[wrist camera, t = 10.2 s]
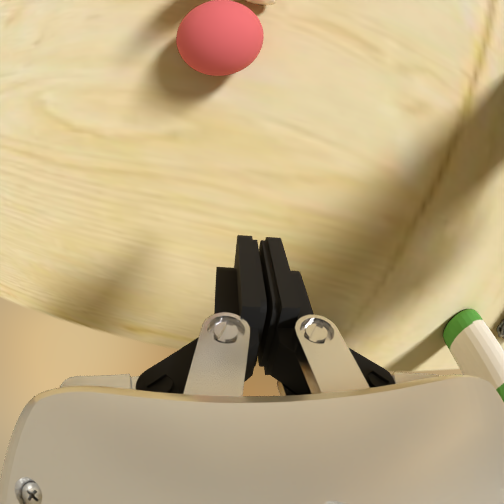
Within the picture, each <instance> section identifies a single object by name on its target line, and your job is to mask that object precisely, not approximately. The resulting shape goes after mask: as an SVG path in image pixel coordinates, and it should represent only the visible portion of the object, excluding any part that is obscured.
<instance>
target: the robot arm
mask: <svg viewBox="0 0 504 504" xmlns="http://www.w3.org/2000/svg"><path fill="white" fill-rule="evenodd" d="M257 356H258V361H259V366H264V370H265V375H271V376H272V377H274V378H275V379H277V380H278V381H277V386H278V390H279V393H280V396H247V397H246V396H242V395H243V387H244V382H245V381H246V380H247V379H248V378H250V377H251V376H252V374H253V369H254V366H255V365H256V361H257ZM0 504H504V402H503V400H502V398H501V397H500V395H499V394H498V392H497V391H496V389H495V388H494V387H493V385H492V384H491V383H489V382H488V381H487V380H484V379H482V378H479V377H476V376H470V375H445V376H444V375H443V376H439V375H434V374H417V373H402V372H394V373H393V374H392V375H391V374H390V373H389V372H388V371H387V370H385V369H384V368H382V367H380V366H379V365H377V364H375V363H374V362H372V361H370V360H368V359H367V358H365V357H363V356H362V355H360V354H358V353H357V352H355V351H353V350H352V349H350V348H348V346H347V344H346V343H345V341H344V339H343V337H342V335H341V334H340V332H339V330H338V328H337V327H336V325H335V324H334V323H333V322H332V321H330V320H329V319H327V318H325V317H323V316H319V315H314V314H313V311H312V308H311V305H310V302H309V299H308V295H307V292H306V289H305V286H304V283H303V280H302V277H301V274H300V272H299V271H290V268H289V265H288V261H287V258H286V254H285V251H284V247H283V244H282V241H281V238H272V237H266V240H265V241H263V240H261V242H260V247H259V249H258V243H257V240H252V236H242V235H238V236H237V245H236V255H235V265H234V268H226V267H217V271H216V290H215V313H214V315H211V316H209V317H208V318H207V319H206V320H205V321H204V323H203V325H202V328H201V332H200V335H199V337H198V338H197V339H195V340H194V341H192V342H191V343H189V344H188V345H186V346H184V347H183V348H181V349H180V350H178V351H177V352H175V353H173V354H172V355H170V356H169V357H167V358H166V359H164V360H162V361H161V362H159V363H157V364H156V365H154V366H153V367H151V368H149V369H148V370H146V371H145V372H144V373H142V374H141V375H140V376H138V377H131V376H130V374H122V375H102V376H75V377H70V378H68V379H67V380H65V381H64V382H63V383H62V384H61V386H60V388H56V389H51V390H48V391H45V392H42V393H40V394H38V395H36V396H34V397H33V398H32V399H31V400H30V401H29V402H28V404H27V405H26V406H25V407H24V409H23V411H22V413H21V415H20V416H19V419H18V421H17V423H16V425H15V428H14V430H13V433H12V436H11V439H10V442H9V446H8V449H7V453H6V456H5V460H4V464H3V469H2V474H1V480H0Z"/></svg>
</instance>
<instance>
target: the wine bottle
mask: <svg viewBox="0 0 504 504" xmlns="http://www.w3.org/2000/svg"><path fill="white" fill-rule="evenodd" d="M443 338H444V341H445V343H446V345H447V346H448V348H449V350H450V352H451V354H452V355H453V357H454V359H455V361H456V362H457V364H458V366H459V368H460V370H461V371H462V373H463V375H470V376H476V377H479V378H482V379H484V380H487V381H488V382H489V383H491V384H492V385H493V387H494V388H495V389H496V391H497V392H498V394H499V395H500V397H501V398H502V400H503V402H504V350H503V349H502V347H501V345H500V344H499V342H498V341H497V339H496V338H495V336H494V335H493V333H492V332H491V331H490V329H489V328H488V326H487V325H486V323H485V322H484V321H483V319H482V318H481V317H480V315H479V314H478V313H477V312H476V311H475V310H473V309H466V310H463V311H461V312H460V313H458V314H457V315H456V316H454V317H453V318H452V319H451V320H450V322H449V323H448V324H447V326H446V327H445V330H444V333H443Z"/></svg>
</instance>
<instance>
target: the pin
mask: <svg viewBox="0 0 504 504" xmlns="http://www.w3.org/2000/svg"><path fill="white" fill-rule="evenodd" d="M245 1H247V2H250V3H254V4H260V5H272V4H275V0H245Z"/></svg>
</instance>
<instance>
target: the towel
mask: <svg viewBox="0 0 504 504" xmlns="http://www.w3.org/2000/svg"><path fill="white" fill-rule="evenodd" d="M497 332H498V336H499V337H503V338H504V320H503V321H502V322H501V324H500V325H499V326H498V328H497Z"/></svg>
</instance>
